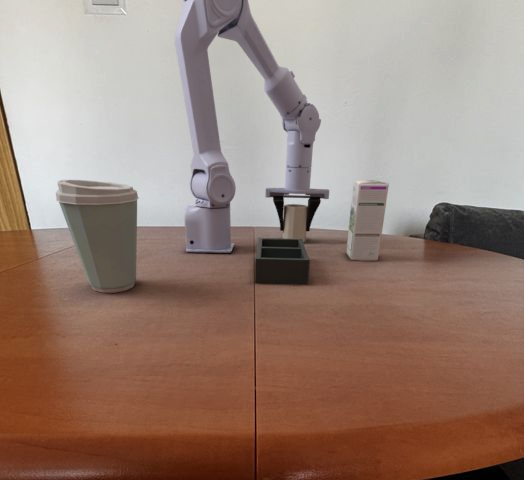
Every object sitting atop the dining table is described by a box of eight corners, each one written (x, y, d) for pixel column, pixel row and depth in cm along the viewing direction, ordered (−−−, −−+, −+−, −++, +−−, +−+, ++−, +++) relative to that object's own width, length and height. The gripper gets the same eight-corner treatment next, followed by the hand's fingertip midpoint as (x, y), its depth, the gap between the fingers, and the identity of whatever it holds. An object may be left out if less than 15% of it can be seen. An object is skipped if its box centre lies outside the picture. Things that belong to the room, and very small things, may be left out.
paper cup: (282, 242, 89) (284, 206, 85) (282, 238, 94) (283, 203, 90) (306, 243, 89) (309, 207, 85) (304, 238, 94) (307, 204, 90)
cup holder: (255, 283, 61) (255, 258, 59) (258, 258, 76) (258, 237, 74) (307, 284, 61) (309, 259, 59) (300, 259, 76) (302, 238, 74)
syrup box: (378, 261, 76) (391, 182, 69) (349, 260, 76) (359, 181, 69) (371, 254, 81) (383, 180, 74) (344, 253, 81) (353, 179, 74)
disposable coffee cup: (145, 274, 64) (133, 178, 57) (153, 294, 55) (140, 183, 48) (77, 280, 61) (56, 178, 54) (74, 302, 52) (47, 184, 45)
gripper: (328, 167, 88) (322, 228, 94) (266, 166, 88) (264, 226, 94) (333, 168, 81) (326, 233, 88) (265, 167, 81) (264, 231, 88)
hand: (294, 230), depth 90 cm, fingers closed on paper cup, 5 cm apart
